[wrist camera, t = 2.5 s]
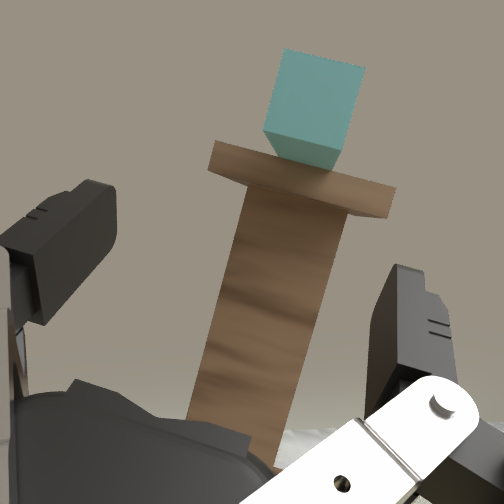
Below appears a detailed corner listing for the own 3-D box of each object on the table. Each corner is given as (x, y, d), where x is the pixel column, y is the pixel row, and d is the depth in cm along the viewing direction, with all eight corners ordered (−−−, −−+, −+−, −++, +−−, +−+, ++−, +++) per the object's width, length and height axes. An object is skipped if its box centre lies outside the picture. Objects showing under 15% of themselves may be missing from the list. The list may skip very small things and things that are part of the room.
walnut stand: (289, 638, 33) (427, 196, 29) (79, 561, 34) (186, 132, 31) (297, 477, 53) (380, 202, 49) (164, 433, 54) (235, 163, 50)
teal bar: (341, 150, 20) (365, 67, 19) (262, 130, 20) (284, 48, 20) (324, 185, 45) (334, 149, 45) (289, 176, 46) (299, 141, 45)
